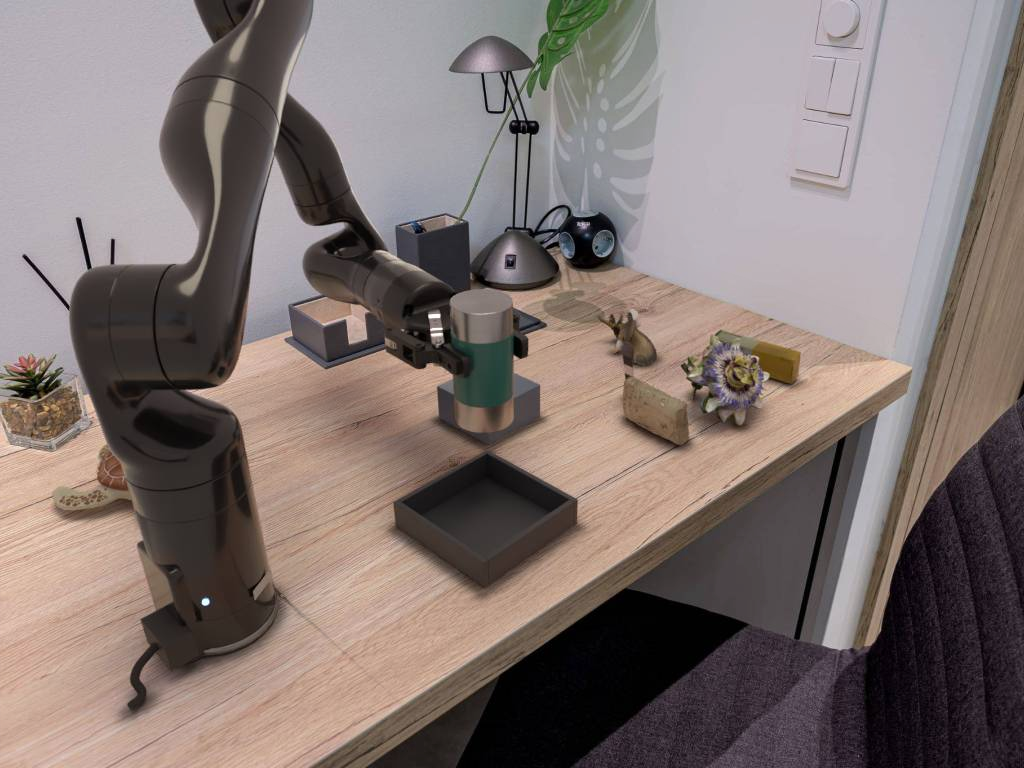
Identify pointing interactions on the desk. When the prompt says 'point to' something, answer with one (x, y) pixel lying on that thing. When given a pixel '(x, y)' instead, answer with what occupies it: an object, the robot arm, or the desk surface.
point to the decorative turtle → (106, 493)
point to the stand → (523, 407)
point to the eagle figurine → (632, 337)
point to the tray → (485, 516)
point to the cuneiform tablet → (654, 408)
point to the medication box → (767, 356)
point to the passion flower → (727, 380)
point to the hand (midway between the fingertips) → (496, 358)
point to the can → (484, 359)
